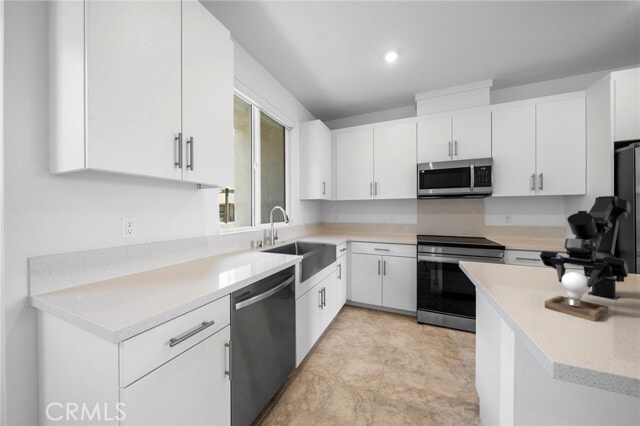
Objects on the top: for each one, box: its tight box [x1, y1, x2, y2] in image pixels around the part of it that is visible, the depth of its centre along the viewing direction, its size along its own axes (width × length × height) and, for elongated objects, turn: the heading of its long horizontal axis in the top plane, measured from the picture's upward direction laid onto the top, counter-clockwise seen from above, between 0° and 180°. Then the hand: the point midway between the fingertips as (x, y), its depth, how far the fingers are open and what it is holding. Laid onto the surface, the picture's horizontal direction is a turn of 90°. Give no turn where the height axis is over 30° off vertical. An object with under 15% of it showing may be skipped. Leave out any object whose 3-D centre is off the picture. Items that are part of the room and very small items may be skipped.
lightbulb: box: [560, 271, 591, 307], centre depth 76 cm, size 6×6×11 cm
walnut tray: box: [544, 295, 610, 322], centre depth 75 cm, size 11×11×2 cm
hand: (573, 283), depth 75 cm, fingers closed on lightbulb, 6 cm apart
